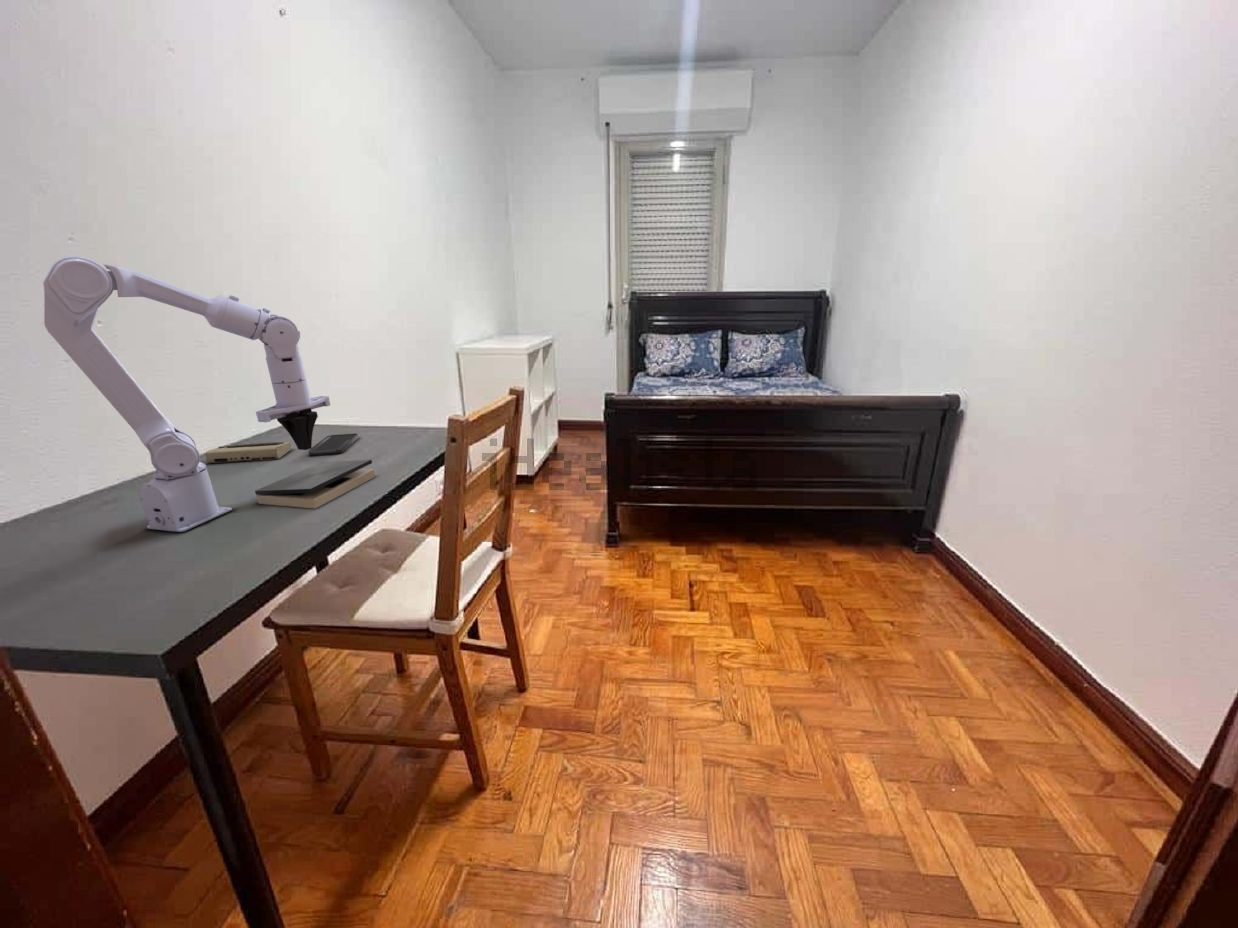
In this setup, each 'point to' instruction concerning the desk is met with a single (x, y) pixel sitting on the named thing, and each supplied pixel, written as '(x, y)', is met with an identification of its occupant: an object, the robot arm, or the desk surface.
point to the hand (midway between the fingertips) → (304, 448)
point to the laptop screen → (313, 477)
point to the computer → (248, 452)
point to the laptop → (319, 492)
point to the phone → (333, 444)
